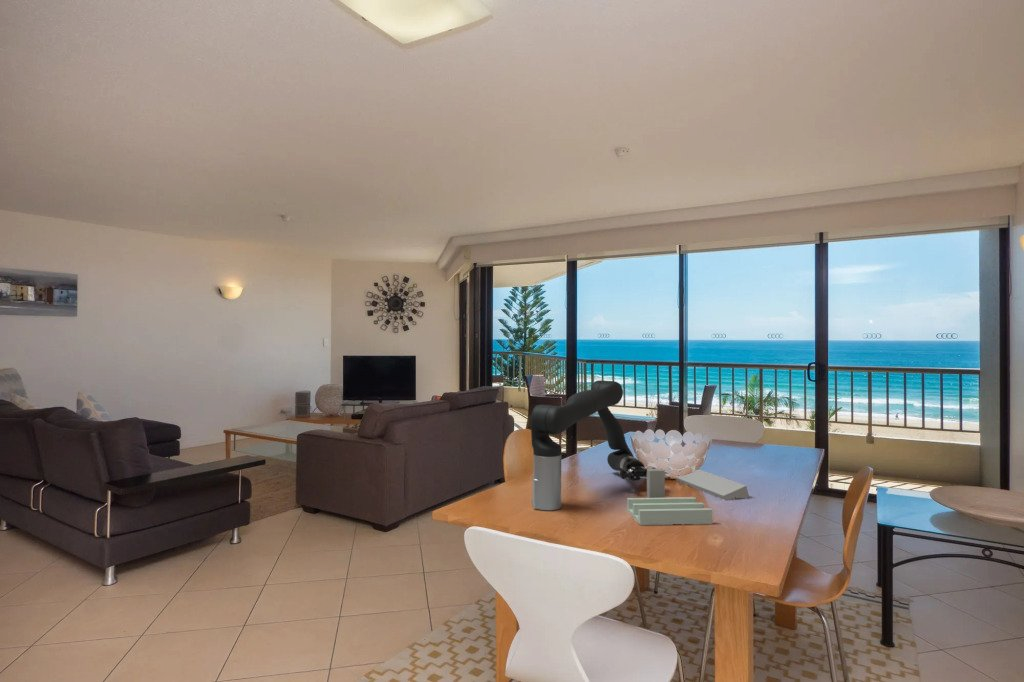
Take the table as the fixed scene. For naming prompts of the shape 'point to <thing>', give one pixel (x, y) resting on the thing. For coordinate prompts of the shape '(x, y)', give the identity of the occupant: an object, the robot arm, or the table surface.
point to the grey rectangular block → (655, 483)
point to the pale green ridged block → (668, 511)
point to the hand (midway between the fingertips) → (645, 478)
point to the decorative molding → (714, 485)
